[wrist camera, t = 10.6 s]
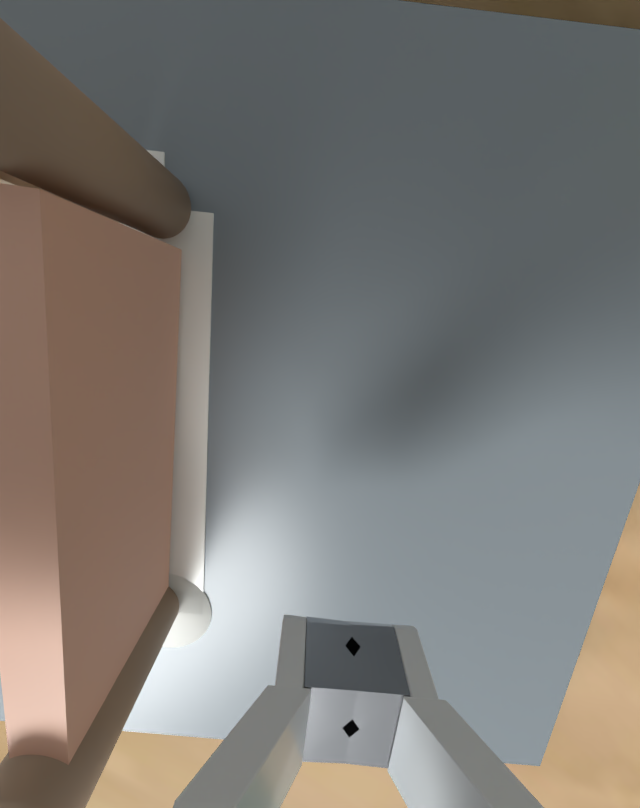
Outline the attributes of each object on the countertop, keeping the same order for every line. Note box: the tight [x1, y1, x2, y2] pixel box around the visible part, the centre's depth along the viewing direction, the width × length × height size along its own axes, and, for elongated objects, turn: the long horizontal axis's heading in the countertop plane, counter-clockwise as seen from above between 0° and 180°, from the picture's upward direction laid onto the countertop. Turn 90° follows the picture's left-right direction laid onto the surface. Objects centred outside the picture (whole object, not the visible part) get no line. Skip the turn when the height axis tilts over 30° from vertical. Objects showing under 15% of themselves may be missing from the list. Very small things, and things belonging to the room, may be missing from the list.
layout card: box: [0, 0, 640, 766], centre depth 12 cm, size 30×24×1 cm
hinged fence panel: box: [0, 18, 191, 808], centre depth 8 cm, size 14×2×6 cm, turn 172°
